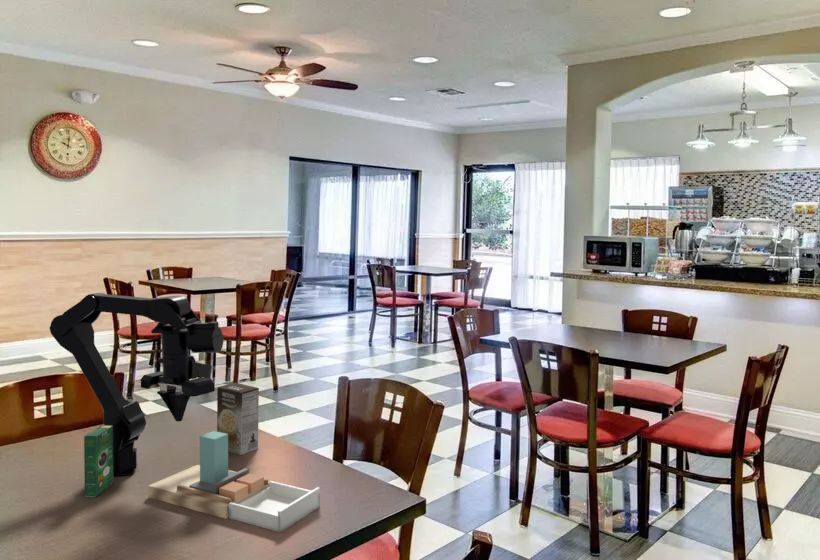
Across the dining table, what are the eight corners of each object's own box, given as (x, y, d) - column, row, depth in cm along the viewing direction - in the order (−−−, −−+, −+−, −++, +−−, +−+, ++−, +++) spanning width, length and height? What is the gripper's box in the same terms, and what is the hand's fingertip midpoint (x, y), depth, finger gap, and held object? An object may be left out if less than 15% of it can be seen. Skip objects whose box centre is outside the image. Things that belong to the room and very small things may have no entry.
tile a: (236, 489, 137) (236, 479, 137) (248, 482, 141) (248, 473, 140) (251, 492, 135) (251, 483, 135) (263, 486, 139) (263, 476, 139)
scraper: (189, 490, 135) (189, 440, 135) (223, 474, 144) (223, 427, 144) (215, 497, 132) (215, 445, 131) (248, 480, 141) (248, 432, 140)
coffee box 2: (215, 448, 169) (215, 386, 167) (234, 441, 174) (234, 381, 173) (241, 455, 164) (241, 392, 162) (259, 448, 169) (260, 387, 168)
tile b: (219, 497, 133) (219, 488, 132) (232, 490, 136) (232, 481, 136) (234, 501, 131) (234, 491, 131) (248, 494, 134) (248, 485, 134)
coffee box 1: (101, 482, 145) (100, 423, 144) (114, 482, 145) (113, 424, 144) (83, 497, 137) (82, 435, 136) (97, 497, 137) (96, 435, 136)
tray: (228, 518, 129) (228, 498, 129) (271, 494, 141) (271, 476, 140) (280, 532, 124) (280, 511, 123) (319, 506, 135) (319, 487, 135)
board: (148, 497, 138) (148, 480, 138) (197, 475, 151) (197, 460, 150) (226, 518, 129) (225, 501, 128) (271, 493, 141) (271, 477, 141)
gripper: (232, 349, 149) (235, 417, 151) (178, 343, 160) (181, 407, 161) (192, 358, 140) (195, 430, 141) (137, 351, 150) (141, 418, 151)
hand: (179, 421), depth 149 cm, fingers closed
